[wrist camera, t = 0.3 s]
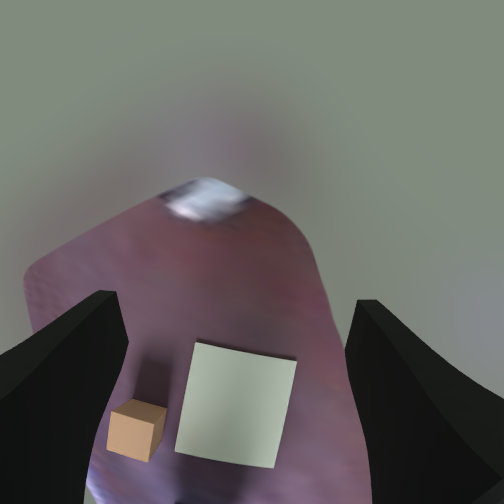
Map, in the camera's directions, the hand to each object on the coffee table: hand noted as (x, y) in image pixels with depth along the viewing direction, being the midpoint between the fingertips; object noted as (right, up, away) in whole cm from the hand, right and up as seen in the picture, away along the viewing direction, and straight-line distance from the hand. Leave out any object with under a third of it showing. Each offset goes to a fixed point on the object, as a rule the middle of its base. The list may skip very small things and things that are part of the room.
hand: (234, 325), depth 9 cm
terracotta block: (-12, -18, +24) cm, 32 cm away
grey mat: (-1, -16, +25) cm, 30 cm away
